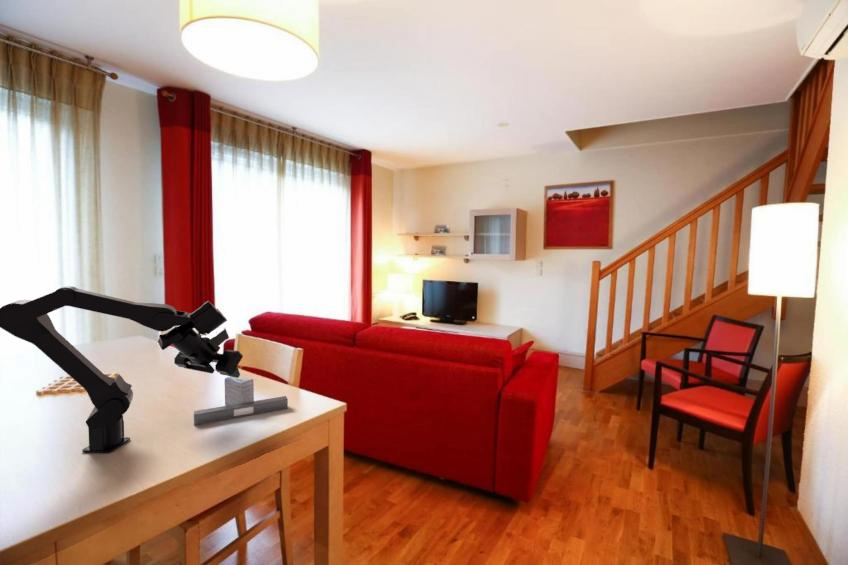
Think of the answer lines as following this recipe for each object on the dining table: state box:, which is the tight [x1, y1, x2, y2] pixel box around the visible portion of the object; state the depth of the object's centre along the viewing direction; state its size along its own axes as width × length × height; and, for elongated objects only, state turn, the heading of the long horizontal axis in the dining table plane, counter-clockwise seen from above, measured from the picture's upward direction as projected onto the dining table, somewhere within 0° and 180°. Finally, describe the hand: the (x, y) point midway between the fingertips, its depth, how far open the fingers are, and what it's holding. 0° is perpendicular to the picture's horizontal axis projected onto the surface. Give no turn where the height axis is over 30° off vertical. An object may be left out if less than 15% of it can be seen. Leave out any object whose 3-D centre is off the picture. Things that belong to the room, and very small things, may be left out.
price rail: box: [193, 395, 289, 426], centre depth 111 cm, size 24×3×3 cm, turn 123°
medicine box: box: [224, 374, 255, 406], centre depth 117 cm, size 8×4×9 cm, turn 60°
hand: (225, 374), depth 112 cm, fingers open, 9 cm apart
